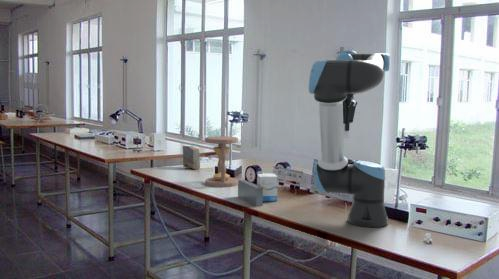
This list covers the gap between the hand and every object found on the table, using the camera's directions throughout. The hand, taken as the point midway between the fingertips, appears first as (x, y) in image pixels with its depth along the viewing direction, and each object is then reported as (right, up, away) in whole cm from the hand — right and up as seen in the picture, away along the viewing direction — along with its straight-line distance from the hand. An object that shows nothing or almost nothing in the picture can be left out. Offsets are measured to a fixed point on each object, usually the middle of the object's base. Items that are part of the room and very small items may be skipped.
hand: (345, 137), depth 212 cm
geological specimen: (-81, -20, +86) cm, 120 cm away
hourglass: (-59, -25, +39) cm, 75 cm away
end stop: (-43, -29, +2) cm, 52 cm away
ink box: (-35, -29, +5) cm, 46 cm away
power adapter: (+17, -36, -55) cm, 68 cm away
